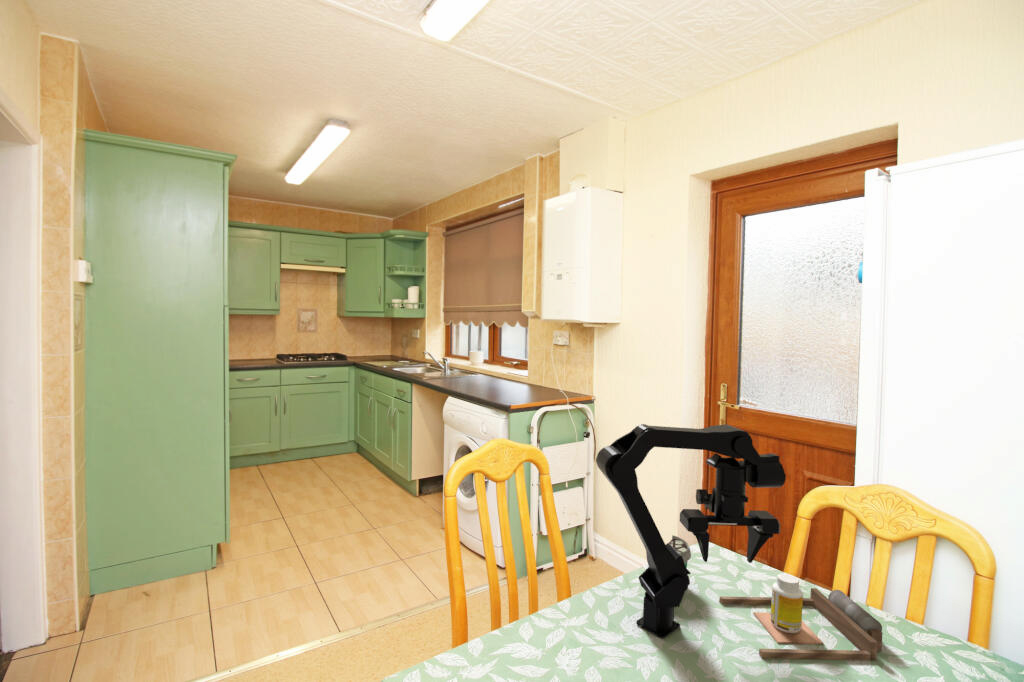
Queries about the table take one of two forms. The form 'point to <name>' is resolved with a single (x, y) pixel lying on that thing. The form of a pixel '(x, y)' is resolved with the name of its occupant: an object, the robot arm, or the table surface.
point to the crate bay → (837, 612)
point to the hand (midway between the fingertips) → (727, 561)
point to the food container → (681, 548)
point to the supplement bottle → (787, 604)
